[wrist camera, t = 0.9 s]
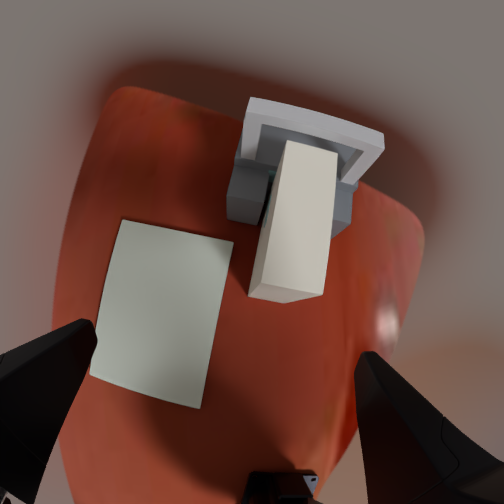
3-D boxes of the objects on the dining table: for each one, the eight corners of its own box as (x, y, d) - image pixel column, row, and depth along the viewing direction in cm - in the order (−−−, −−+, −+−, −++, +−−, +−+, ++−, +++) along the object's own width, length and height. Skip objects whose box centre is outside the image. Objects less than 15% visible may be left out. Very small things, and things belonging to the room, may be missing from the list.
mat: (200, 406, 20) (199, 409, 20) (92, 373, 20) (89, 374, 19) (233, 244, 23) (233, 242, 23) (124, 221, 23) (122, 219, 22)
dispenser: (328, 241, 24) (393, 189, 13) (226, 219, 24) (225, 145, 13) (334, 182, 25) (387, 110, 15) (241, 160, 25) (249, 71, 14)
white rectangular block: (284, 303, 23) (323, 295, 13) (247, 296, 23) (259, 282, 13) (299, 213, 24) (338, 153, 15) (265, 205, 24) (286, 139, 15)
